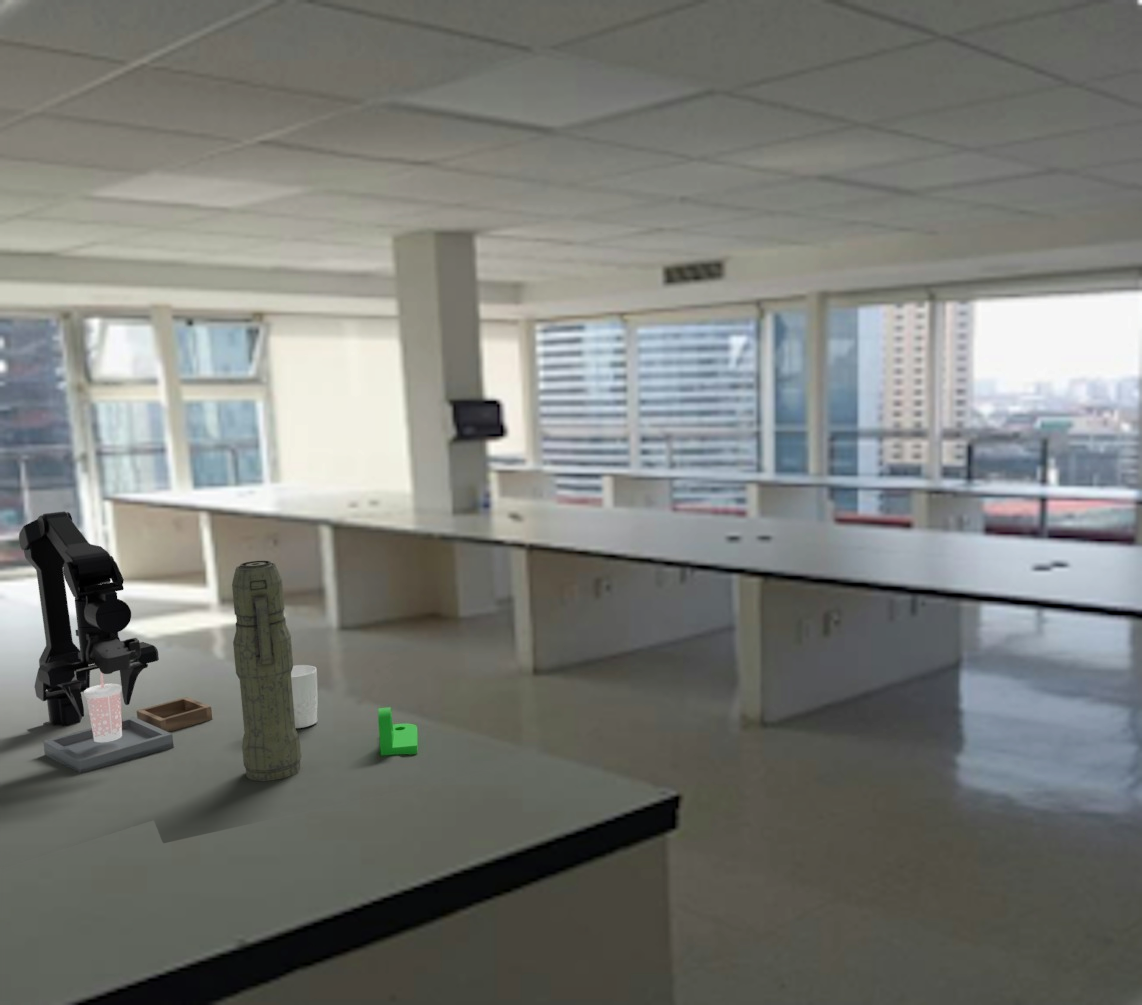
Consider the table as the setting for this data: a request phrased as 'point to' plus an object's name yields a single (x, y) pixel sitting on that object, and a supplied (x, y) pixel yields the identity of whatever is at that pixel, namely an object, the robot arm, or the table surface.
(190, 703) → the square frame
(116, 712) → the beverage cup
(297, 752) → the thermos
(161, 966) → the table surface
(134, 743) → the tray
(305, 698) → the white cup
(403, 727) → the mechanical part
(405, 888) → the table surface
